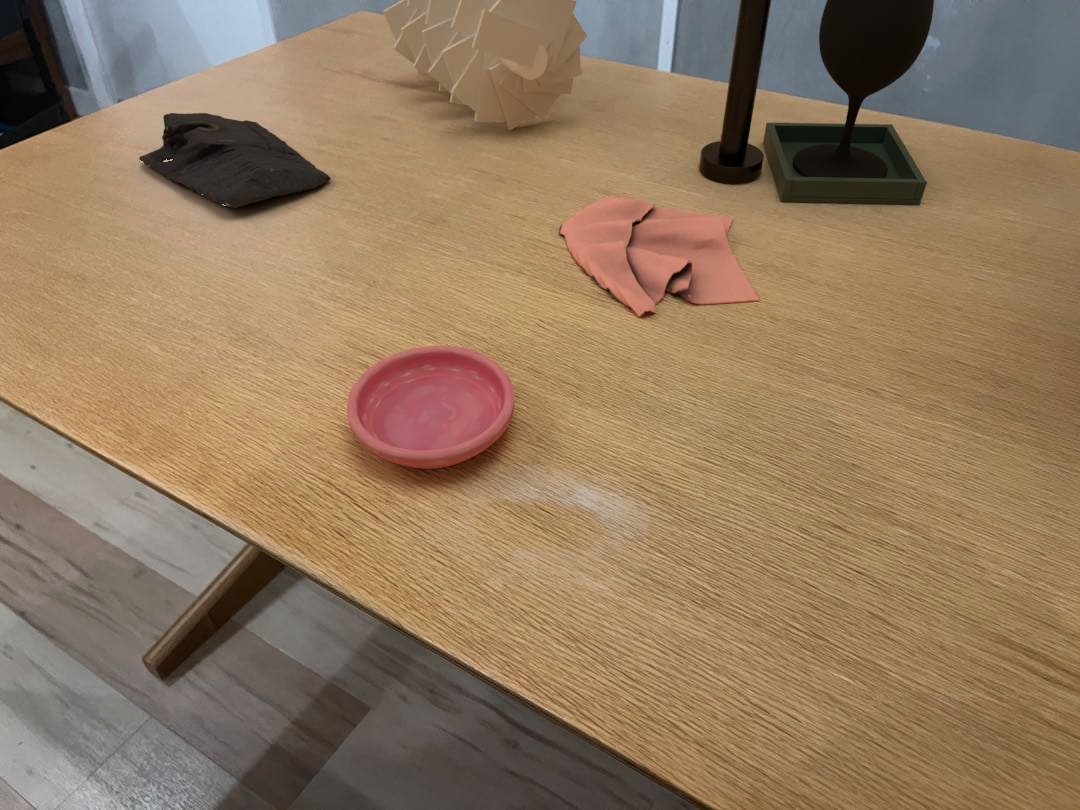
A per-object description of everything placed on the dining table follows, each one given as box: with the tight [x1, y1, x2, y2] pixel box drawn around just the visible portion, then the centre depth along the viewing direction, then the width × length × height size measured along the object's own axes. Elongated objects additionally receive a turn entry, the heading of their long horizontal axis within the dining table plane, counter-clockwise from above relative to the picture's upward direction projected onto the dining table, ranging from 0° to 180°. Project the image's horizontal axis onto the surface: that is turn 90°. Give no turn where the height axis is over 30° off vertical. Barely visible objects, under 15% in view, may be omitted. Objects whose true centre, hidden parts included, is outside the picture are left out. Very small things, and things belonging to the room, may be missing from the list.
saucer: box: [346, 345, 516, 470], centre depth 62 cm, size 12×12×3 cm
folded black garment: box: [138, 112, 332, 209], centre depth 94 cm, size 15×22×5 cm
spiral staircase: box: [382, 0, 588, 131], centre depth 103 cm, size 18×18×25 cm
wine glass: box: [793, 0, 935, 178], centre depth 86 cm, size 10×10×20 cm
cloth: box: [558, 195, 760, 318], centre depth 80 cm, size 20×22×2 cm
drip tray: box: [762, 122, 928, 206], centre depth 93 cm, size 15×15×3 cm
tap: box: [698, 0, 772, 185], centre depth 83 cm, size 10×7×34 cm, turn 86°
